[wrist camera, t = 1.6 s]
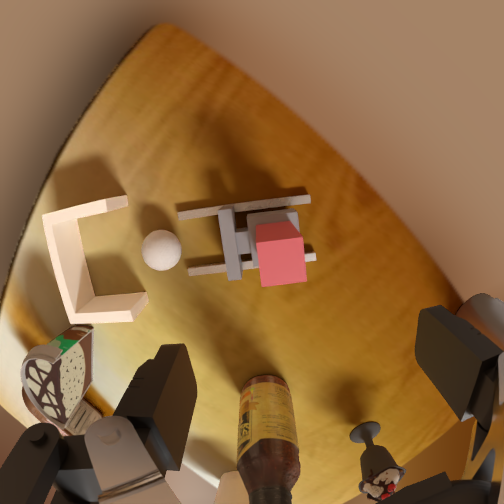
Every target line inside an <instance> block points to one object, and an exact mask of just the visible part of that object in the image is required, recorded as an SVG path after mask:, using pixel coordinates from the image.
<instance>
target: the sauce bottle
mask: <svg viewBox="0 0 504 504" xmlns="http://www.w3.org/2000/svg"><path fill="white" fill-rule="evenodd" d="M237 446H238V449H237V470H238V472H239V474H240V476H241V479H242V481H243V483H244V486H245V488H246V490H247V493H248V495H249V504H292V503H291V499H292V495H291V492H290V491H291V489H292V488H293V486H294V485H295V483H296V482H297V480H298V478H299V476H300V462H299V456H298V454H299V446H298V439H297V432H296V425H295V418H294V411H293V404H292V398H291V394H290V390H289V388H288V385H287V384H286V383H285V382H284V381H283V380H282V379H280V378H279V377H276V376H273V375H261V376H256V377H254V378H252V379H250V380H249V381H248V382H247V383H246V384H245V386H244V388H243V390H242V394H241V397H240V410H239V425H238V445H237Z"/></svg>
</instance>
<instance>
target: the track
mask: <svg viewBox="0 0 504 504" xmlns="http://www.w3.org/2000/svg"><path fill="white" fill-rule="evenodd" d="M306 203H311V200H310V195H309V194H307V195H298V196H289V197H280V198H272V199H264V200H256V201H248V202H241V203H233V204H226V205H219V206H212V207H206V208H199V209H192V210H186V211H180V212H178V218H179V220H185V219H192V218H198V217H205V216H212V215H218V211H217V210H219V209H220V208H221V207H227V206H234V212H241V211H248V210H256V209H264V208H272V207H280V206H289V205H297V204H306ZM304 255H305V262H308V261H315V260H316V253H315V251H309V252H304ZM241 261H242V268H243V270H245V269H253V268H259V266H256V267H253V261H252V259H246V260H241ZM220 272H227V269H226V263H225V262H221V263H213V264H205V265H197V266H189V267H188V273H189V276H194V275H203V274H211V273H220Z"/></svg>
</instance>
